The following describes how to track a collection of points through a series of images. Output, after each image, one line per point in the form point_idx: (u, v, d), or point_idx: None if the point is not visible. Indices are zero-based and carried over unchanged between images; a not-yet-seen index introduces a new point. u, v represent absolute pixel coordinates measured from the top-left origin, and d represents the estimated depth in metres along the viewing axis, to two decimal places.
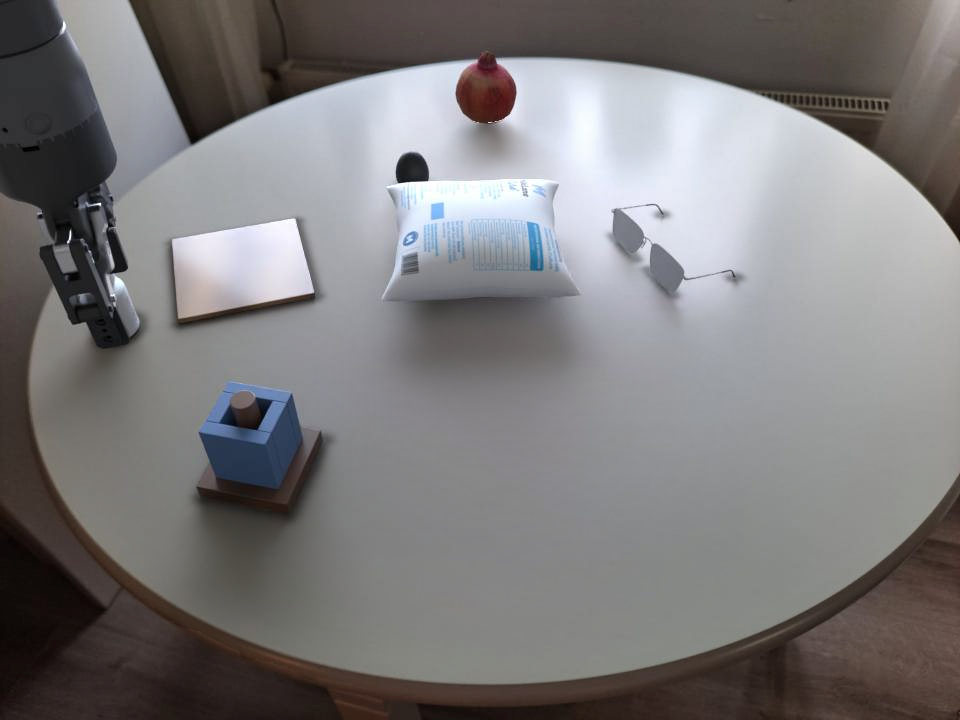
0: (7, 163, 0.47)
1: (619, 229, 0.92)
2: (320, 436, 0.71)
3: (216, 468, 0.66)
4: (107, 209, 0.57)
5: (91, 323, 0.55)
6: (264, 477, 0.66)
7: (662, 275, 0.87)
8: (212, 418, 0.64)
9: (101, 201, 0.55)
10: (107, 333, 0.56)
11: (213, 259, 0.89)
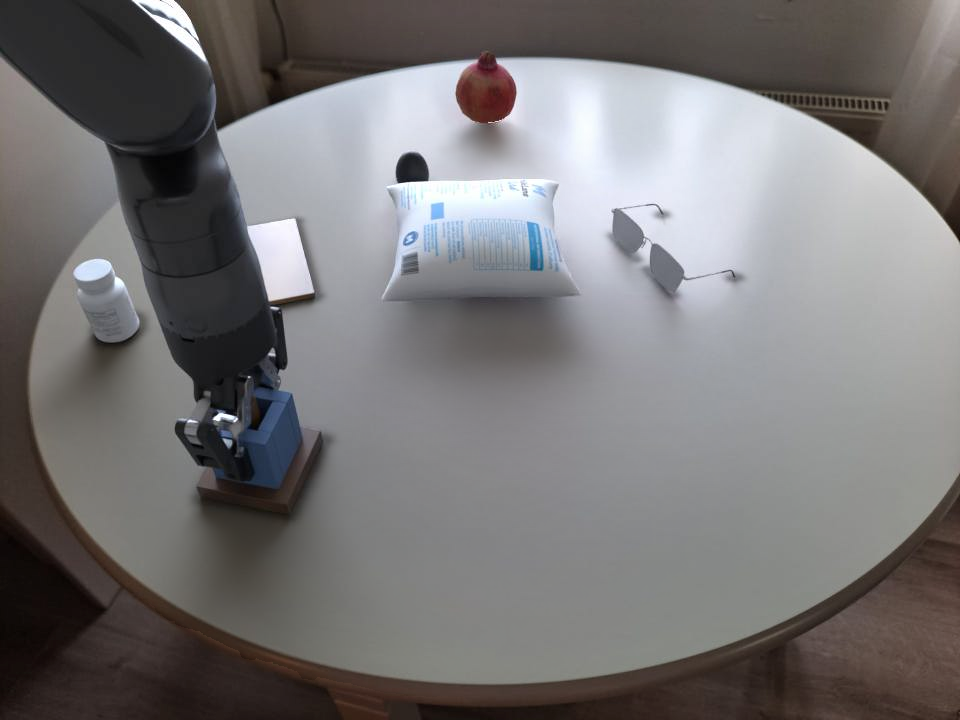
0: (171, 342, 0.55)
1: (619, 229, 0.92)
2: (320, 436, 0.71)
3: None
4: (265, 375, 0.63)
5: None
6: (264, 477, 0.66)
7: (662, 275, 0.87)
8: None
9: (258, 368, 0.62)
10: (232, 472, 0.64)
11: None
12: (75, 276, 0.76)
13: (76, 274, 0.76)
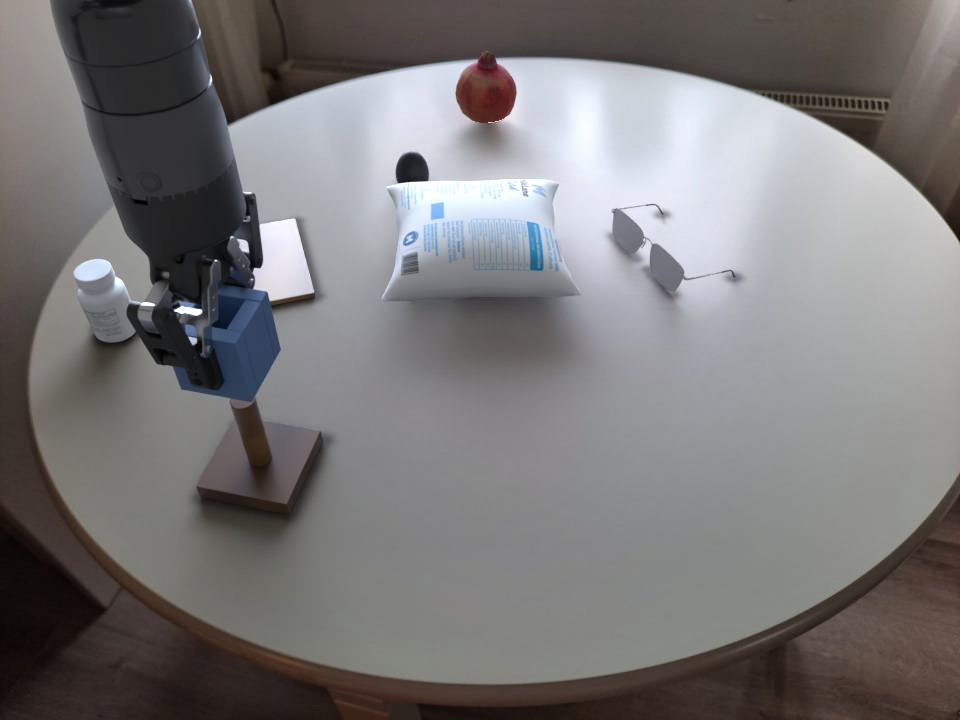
0: (121, 207, 0.47)
1: (619, 229, 0.92)
2: (320, 436, 0.71)
3: (181, 377, 0.58)
4: (236, 266, 0.55)
5: None
6: (235, 387, 0.58)
7: (662, 275, 0.87)
8: None
9: (227, 254, 0.54)
10: (197, 377, 0.56)
11: None
12: (75, 276, 0.76)
13: (76, 274, 0.76)
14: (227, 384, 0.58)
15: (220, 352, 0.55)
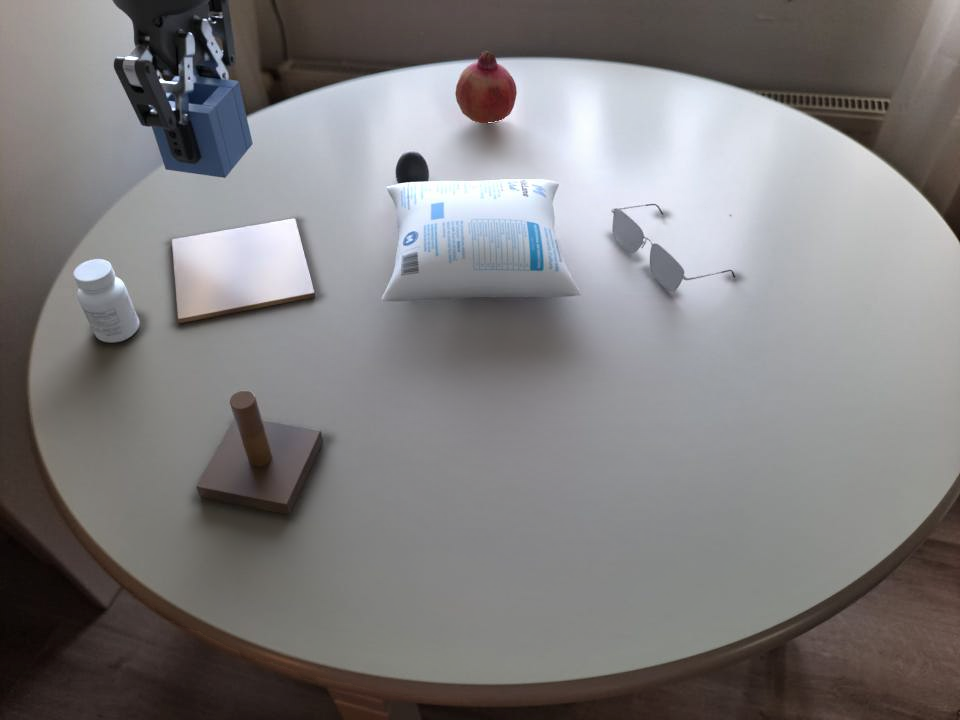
0: None
1: (619, 229, 0.92)
2: (320, 436, 0.71)
3: (165, 156, 0.68)
4: (209, 50, 0.65)
5: (165, 133, 0.65)
6: (210, 162, 0.67)
7: (662, 275, 0.87)
8: None
9: (201, 35, 0.63)
10: (177, 146, 0.65)
11: (213, 259, 0.89)
12: (75, 276, 0.76)
13: (76, 274, 0.76)
14: (204, 159, 0.67)
15: (196, 124, 0.65)
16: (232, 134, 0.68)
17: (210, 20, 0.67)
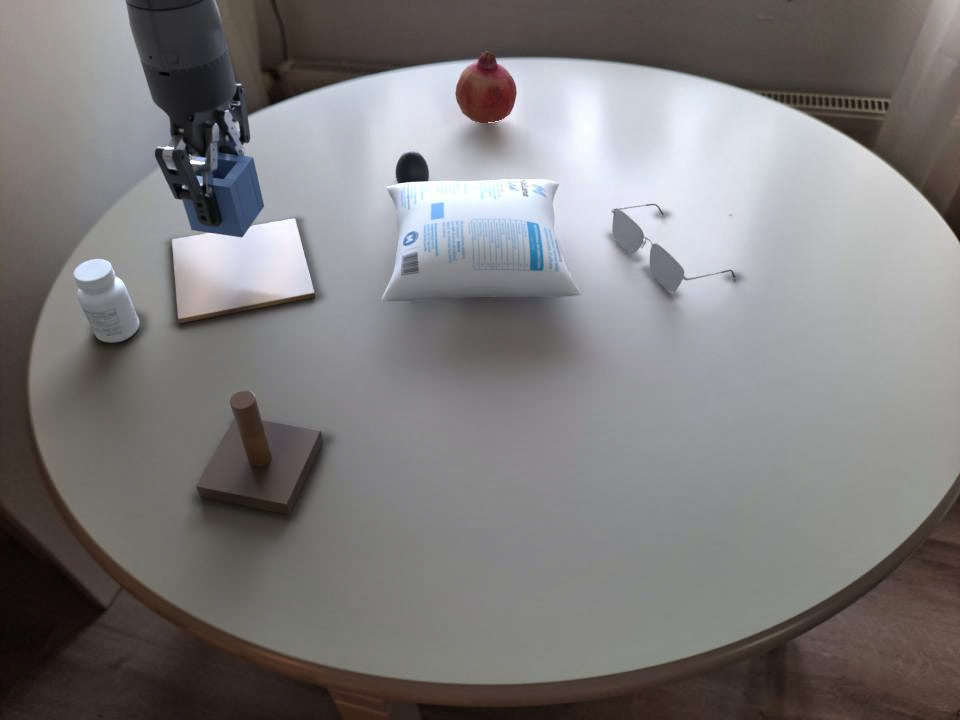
0: (151, 79, 0.70)
1: (619, 229, 0.92)
2: (320, 436, 0.71)
3: (191, 219, 0.81)
4: (230, 134, 0.78)
5: (193, 203, 0.78)
6: (230, 224, 0.81)
7: (662, 275, 0.87)
8: None
9: (223, 123, 0.77)
10: (203, 213, 0.79)
11: (213, 259, 0.89)
12: (75, 276, 0.76)
13: (76, 274, 0.76)
14: (224, 223, 0.81)
15: (219, 195, 0.78)
16: (248, 201, 0.81)
17: (229, 107, 0.80)
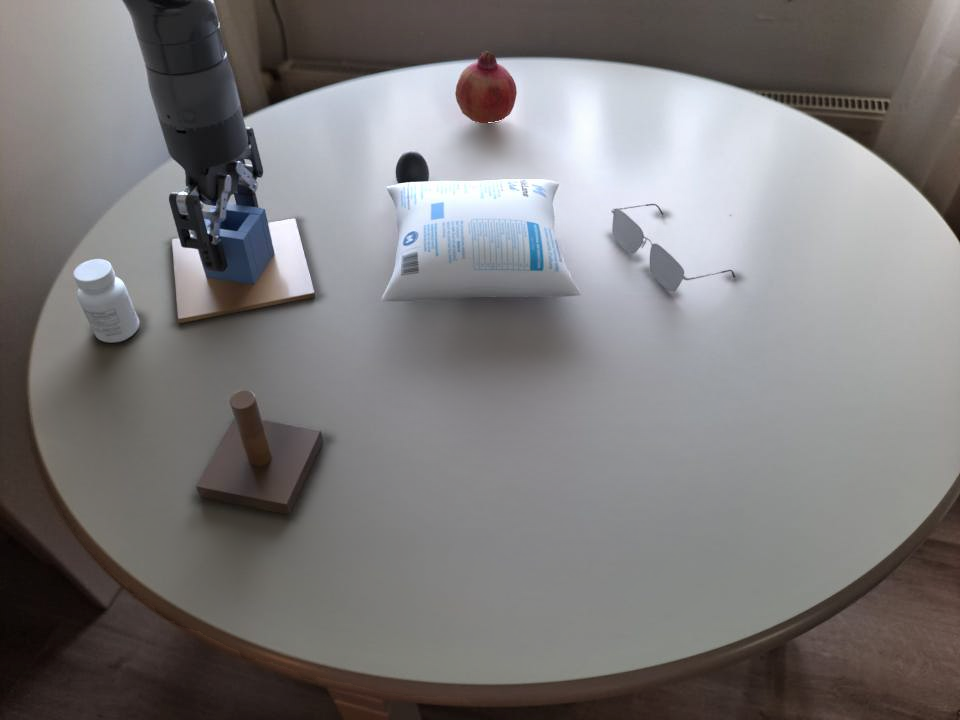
0: (169, 136, 0.74)
1: (619, 229, 0.92)
2: (320, 436, 0.71)
3: None
4: (243, 179, 0.82)
5: (200, 250, 0.80)
6: (243, 273, 0.85)
7: (662, 275, 0.87)
8: None
9: (236, 173, 0.81)
10: (209, 260, 0.81)
11: None
12: (75, 276, 0.76)
13: (76, 274, 0.76)
14: (237, 271, 0.85)
15: (233, 246, 0.83)
16: (259, 250, 0.86)
17: None
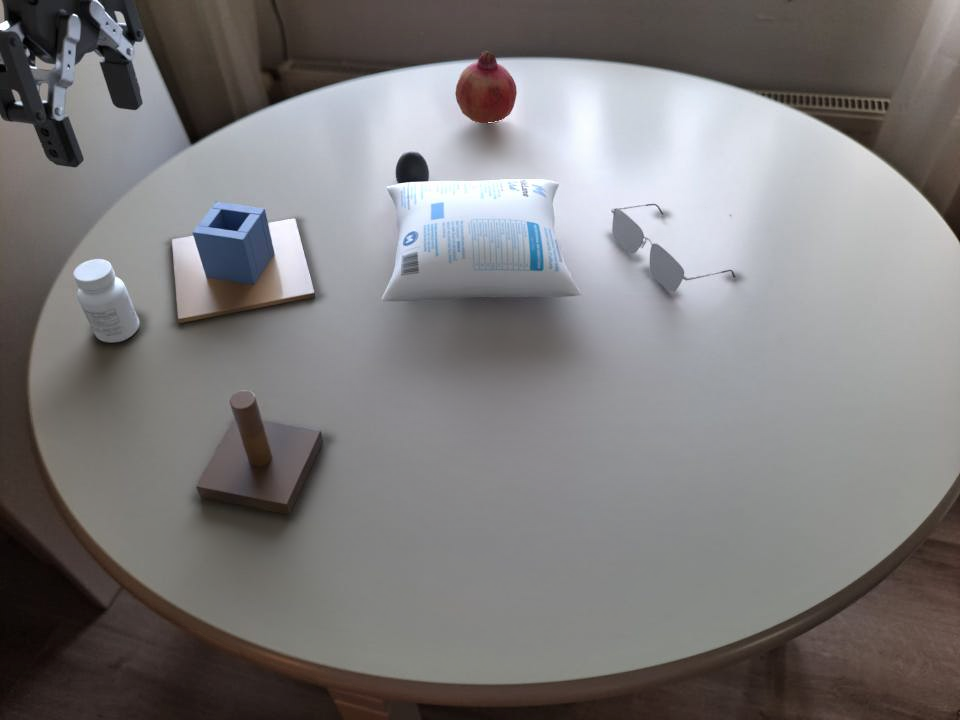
0: None
1: (619, 229, 0.92)
2: (320, 436, 0.71)
3: (206, 267, 0.86)
4: (105, 32, 0.57)
5: (36, 130, 0.55)
6: (243, 273, 0.85)
7: (662, 275, 0.87)
8: (203, 223, 0.83)
9: (91, 19, 0.55)
10: (51, 146, 0.55)
11: None
12: (75, 276, 0.76)
13: (76, 274, 0.76)
14: (237, 271, 0.85)
15: (233, 246, 0.83)
16: (259, 250, 0.86)
17: None
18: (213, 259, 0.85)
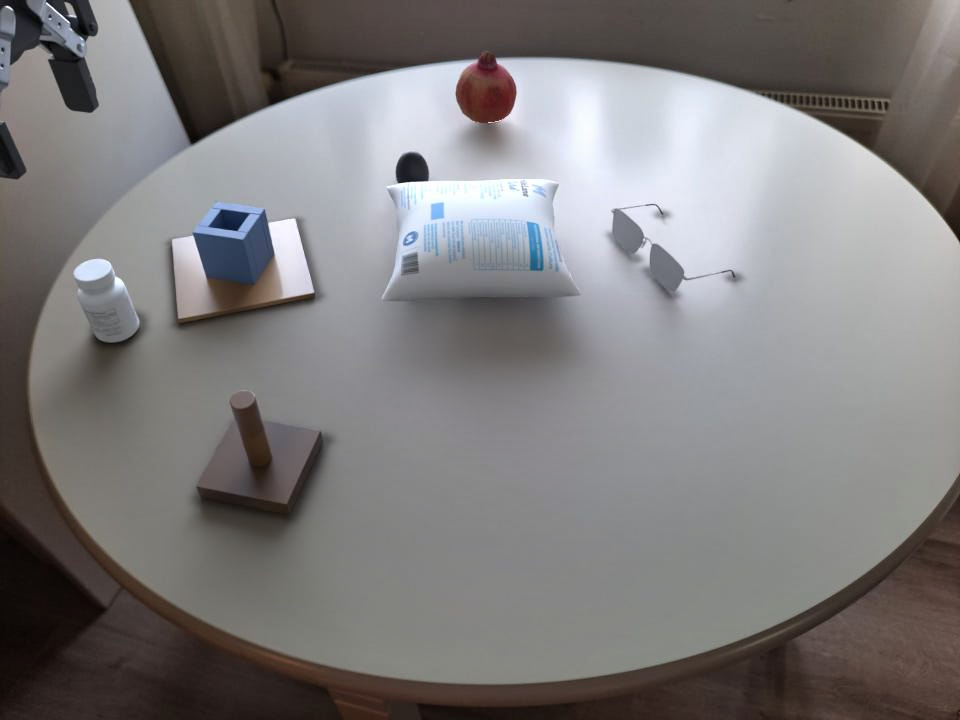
0: None
1: (619, 229, 0.92)
2: (320, 436, 0.71)
3: (206, 267, 0.86)
4: (48, 26, 0.50)
5: None
6: (243, 273, 0.85)
7: (662, 275, 0.87)
8: (203, 223, 0.83)
9: (30, 11, 0.48)
10: None
11: None
12: (75, 276, 0.76)
13: (76, 274, 0.76)
14: (237, 271, 0.85)
15: (233, 246, 0.83)
16: (259, 250, 0.86)
17: None
18: (213, 259, 0.85)
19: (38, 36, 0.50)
